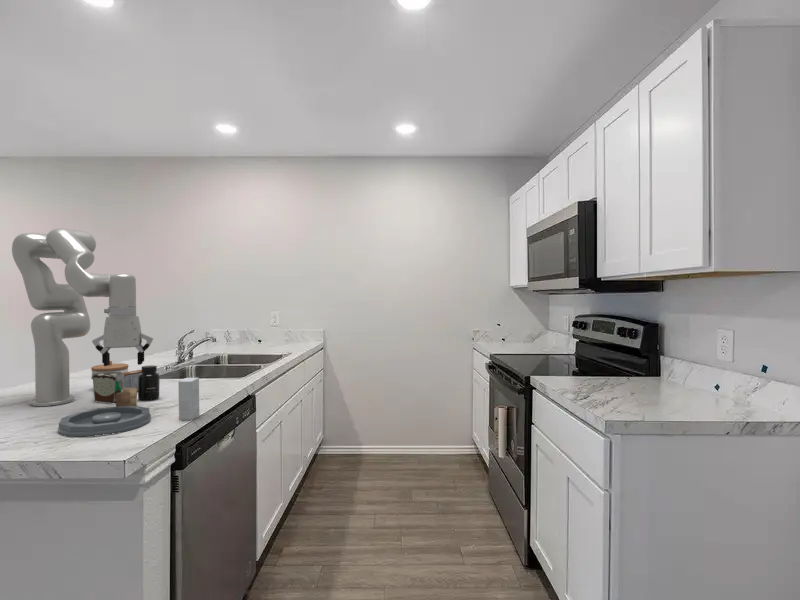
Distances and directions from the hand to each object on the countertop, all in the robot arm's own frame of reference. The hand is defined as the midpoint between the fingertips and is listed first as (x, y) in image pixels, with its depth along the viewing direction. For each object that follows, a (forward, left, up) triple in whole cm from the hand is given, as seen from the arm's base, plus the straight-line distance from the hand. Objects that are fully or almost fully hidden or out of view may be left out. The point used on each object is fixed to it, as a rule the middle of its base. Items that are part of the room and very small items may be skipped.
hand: (123, 364), depth 147 cm
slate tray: (+10, -11, -15) cm, 21 cm away
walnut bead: (0, 0, -15) cm, 15 cm away
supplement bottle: (-10, +14, -16) cm, 23 cm away
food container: (-19, +6, -16) cm, 25 cm away
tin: (-25, +17, -16) cm, 34 cm away
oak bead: (-5, +5, -15) cm, 17 cm away
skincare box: (+24, +6, -16) cm, 30 cm away
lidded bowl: (-41, +17, -16) cm, 47 cm away
